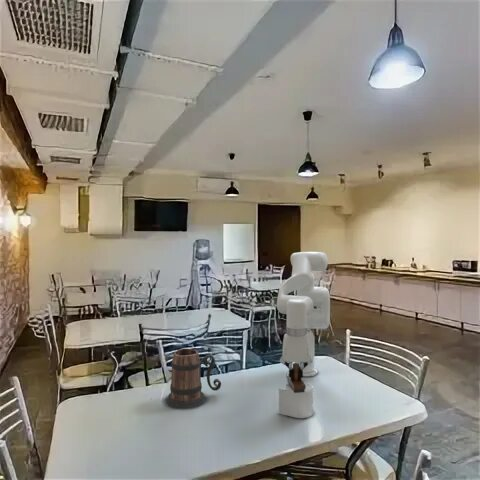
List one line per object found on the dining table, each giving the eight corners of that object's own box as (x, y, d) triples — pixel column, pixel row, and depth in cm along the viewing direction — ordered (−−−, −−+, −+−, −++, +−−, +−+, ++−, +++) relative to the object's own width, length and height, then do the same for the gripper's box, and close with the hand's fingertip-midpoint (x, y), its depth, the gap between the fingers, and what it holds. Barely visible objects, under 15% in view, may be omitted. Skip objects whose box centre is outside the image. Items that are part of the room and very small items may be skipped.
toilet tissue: (318, 412, 159) (318, 386, 159) (300, 422, 150) (300, 396, 150) (295, 403, 166) (295, 379, 166) (277, 413, 158) (277, 387, 157)
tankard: (169, 411, 158) (169, 360, 158) (161, 394, 174) (161, 348, 173) (227, 402, 167) (227, 354, 166) (214, 387, 183) (214, 342, 182)
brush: (286, 381, 163) (286, 359, 162) (297, 380, 164) (297, 358, 163) (293, 393, 152) (294, 370, 151) (305, 392, 153) (306, 369, 152)
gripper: (315, 329, 160) (315, 376, 161) (274, 329, 161) (274, 375, 161) (319, 334, 153) (318, 383, 153) (275, 334, 153) (275, 382, 154)
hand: (295, 378), depth 157 cm, fingers closed on brush, 2 cm apart
